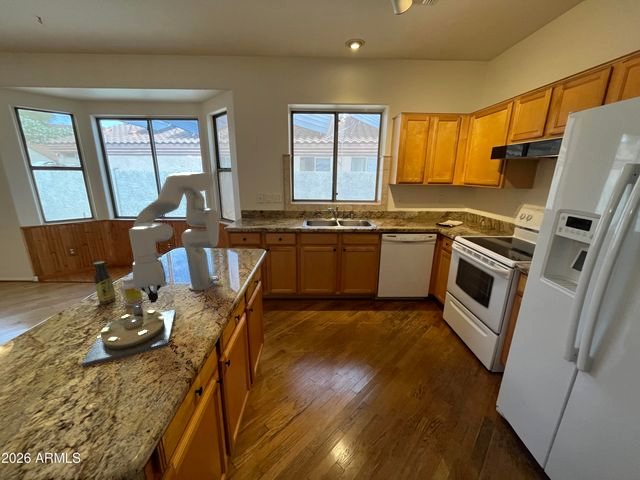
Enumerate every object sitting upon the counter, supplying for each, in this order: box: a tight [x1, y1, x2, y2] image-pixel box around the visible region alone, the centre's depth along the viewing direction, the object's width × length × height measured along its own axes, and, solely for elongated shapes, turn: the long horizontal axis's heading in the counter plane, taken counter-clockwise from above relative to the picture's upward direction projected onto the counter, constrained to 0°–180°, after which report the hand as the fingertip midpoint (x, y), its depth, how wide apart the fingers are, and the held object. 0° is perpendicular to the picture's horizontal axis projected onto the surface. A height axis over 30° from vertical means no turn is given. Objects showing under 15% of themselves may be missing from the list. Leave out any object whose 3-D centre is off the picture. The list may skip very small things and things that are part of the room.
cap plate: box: [80, 309, 176, 368], centre depth 95 cm, size 24×24×2 cm
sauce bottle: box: [93, 260, 116, 305], centre depth 118 cm, size 7×6×20 cm
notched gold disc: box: [100, 303, 165, 349], centre depth 94 cm, size 19×19×7 cm
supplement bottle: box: [121, 275, 143, 307], centre depth 117 cm, size 7×7×13 cm
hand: (154, 301), depth 101 cm, fingers closed
